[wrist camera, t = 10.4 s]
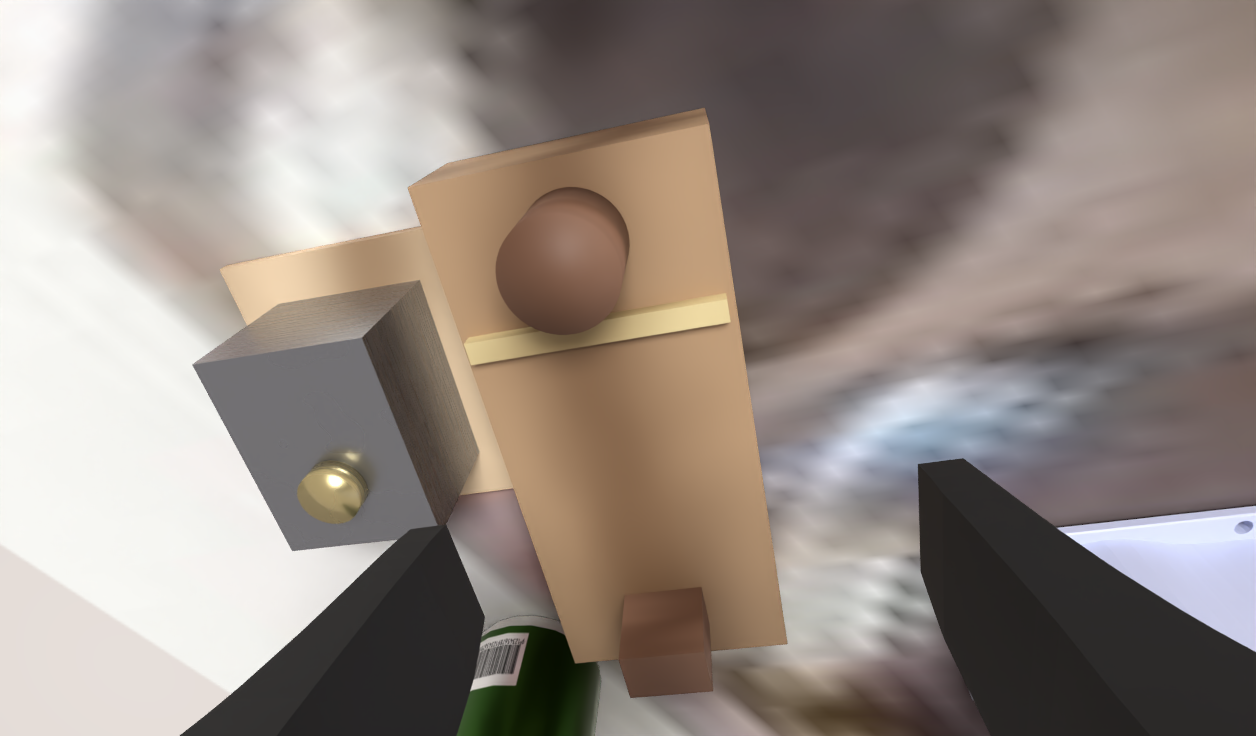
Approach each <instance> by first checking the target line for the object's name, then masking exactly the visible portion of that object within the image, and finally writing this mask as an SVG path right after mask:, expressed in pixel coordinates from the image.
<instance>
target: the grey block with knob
mask: <svg viewBox="0 0 1256 736" xmlns="http://www.w3.org/2000/svg"><path fill="white" fill-rule="evenodd" d="M193 367H194V369H195V371H196V372H197V374H198V376H199V378H200V380H201V382H202V384H203V385H204V387H205V389H206V391H207V393H208V395H209V397H210V399H211V400H212V402H213V404H214V406H215V408H216V410H217V412H218V413H219V415H220V417H221V419H222V421H223V423H224V425H225V426H226V428H227V430H228V432H229V434H230V436H231V438H232V440H233V441H234V443H235V445H236V447H237V449H238V451H239V453H240V454H241V456H242V458H243V460H244V462H245V464H246V466H247V468H248V469H249V471H250V473H251V475H252V477H253V479H254V481H255V482H256V484H257V486H258V488H259V490H260V492H261V494H262V495H263V497H264V499H265V501H266V503H267V505H268V507H269V509H270V510H271V512H272V514H273V516H274V518H275V520H276V522H277V523H278V525H279V527H280V529H281V531H282V533H283V535H284V536H285V538H286V540H287V542H288V544H289V546H290V548H291V550H292V551H297V550H306V549H315V548H324V547H333V546H342V545H351V544H360V543H370V542H379V541H388V540H397V539H399V538H401V537H402V536H403V535H404V534H405V533H407V532H408V531H409V530H410V529H415V528H422V527H430V526H438V525H446V523H447V521H448V519H449V517H450V515H451V512H452V510H453V508H454V506H455V504H456V502H457V500H458V497H459V495H460V493H461V491H462V489H463V487H464V484H465V482H466V480H467V478H468V476H469V474H470V471H471V469H472V467H473V465H474V463H475V461H476V459H477V456H478V454H479V449H478V446H477V443H476V440H475V437H474V434H473V432H472V429H471V426H470V423H469V420H468V417H467V414H466V411H465V409H464V406H463V403H462V400H461V397H460V394H459V391H458V388H457V386H456V383H455V380H454V377H453V374H452V371H451V368H450V365H449V363H448V360H447V357H446V354H445V351H444V348H443V345H442V342H441V340H440V337H439V334H438V331H437V328H436V325H435V322H434V319H433V316H432V314H431V311H430V308H429V305H428V302H427V299H426V296H425V293H424V291H423V288H422V285H421V282H420V280H416V281H410V282H404V283H398V284H393V285H387V286H381V287H375V288H369V289H363V290H357V291H351V292H346V293H340V294H334V295H328V296H322V297H316V298H310V299H304V300H298V301H293V302H287V303H281V304H278V305H276V306H275V307H273V308H272V309H270V310H269V311H268V312H266V313H265V314H263V315H262V316H261V317H259V318H258V319H256V320H255V321H253V322H252V323H251V324H249V325H248V326H246V327H245V328H244V329H242V330H241V331H239V332H238V333H236V334H235V335H234V336H232V337H231V338H229V339H228V340H227V341H225V342H224V343H222V344H221V345H219V346H218V347H217V348H215V349H214V350H212V351H211V352H210V353H208V354H207V355H205V356H204V357H202V358H201V359H200V360H198V361H197V362H195V363H194V364H193Z"/></svg>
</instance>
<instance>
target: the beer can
mask: <svg viewBox="0 0 1256 736" xmlns="http://www.w3.org/2000/svg"><path fill="white" fill-rule="evenodd" d="M600 688H601V676H600V670H599V665H598V663H597V661H596V662H585V663H575V661H574V659H573V656H572V653H571V650H570V647H569V644H568V641H567V639H566V636H565V633H564V630H563V627H562V624H561V622H559V621H557V620H555V619H550V618H545V617H540V616H515V617H511V618H508V619H504V620H500V621H499V622H497V623H496V624H494V625H493V626H491V627H489V628H488V629H487V630H486V631H485V632H484V633H483V634H482V638H481V644H480V650H479V655H478V660H477V665H476V670H475V675H474V680H473V684H472V687H471V690H470V694H469V697H468V700H467V704H466V707H465V710H464V713H463V717H462V720H461V723H460V726H459V729H458V733H457V736H595V730H596V722H597V713H598V705H599V697H600Z"/></svg>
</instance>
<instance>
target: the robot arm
mask: <svg viewBox="0 0 1256 736" xmlns="http://www.w3.org/2000/svg"><path fill="white" fill-rule="evenodd" d="M918 485H919V523H920V561H921V574H922V577H923V580H924V583H925V586H926V589H927V592H928V595H929V597H930V600H931V603H932V606H933V609H934V612H935V615H936V618H937V620H938V623H939V626H940V629H941V631H942V634H943V637H944V639H945V642H946V644H947V646H948V648H949V650H950V652H951V654H952V656H953V658H954V661H955V663H956V665H957V667H958V669H959V671H960V673H961V675H962V677H963V679H964V681H965V683H966V685H967V688H968V690H969V693H970V695H971V698H972V699H973V700H974V702H975V704H976V706H977V708H978V710H979V712H980V714H981V716H982V718H983V720H984V722H985V724H986V727H987V729H988V731H989V733H990V735H991V736H1256V506H1250V507H1241V508H1232V509H1223V510H1214V511H1205V512H1196V513H1186V514H1177V515H1168V516H1159V517H1150V518H1141V519H1132V520H1123V521H1114V522H1105V523H1096V524H1087V525H1078V526H1069V527H1060V528H1056V527H1055V526H1053V525H1052V524H1051V523H1049V522H1048V521H1047V520H1045V519H1044V518H1042V517H1041V516H1040V515H1038V514H1037V513H1036V512H1034V511H1033V510H1032V509H1030V508H1029V507H1027V506H1026V505H1025V504H1023V503H1022V502H1021V501H1019V500H1018V499H1017V498H1015V497H1014V496H1013V495H1011V494H1010V493H1009V492H1007V491H1006V490H1005V489H1003V488H1002V487H1001V486H999V485H998V484H997V483H995V482H994V481H993V480H991V479H990V478H989V477H987V476H986V475H985V474H983V473H982V472H981V471H979V470H978V469H977V468H975V467H974V466H973V465H971V464H970V463H969V462H967V461H966V460H965V459H963V458H962V459H955V460H947V461H939V462H931V463H923V464H918ZM1240 522H1241V523H1240ZM484 619H485V616H484V614H483V612H482V609H481V607H480V604H479V602H478V600H477V597H476V595H475V592H474V590H473V588H472V585H471V583H470V581H469V578H468V576H467V573H466V571H465V569H464V566H463V564H462V561H461V559H460V557H459V554H458V552H457V550H456V547H455V545H454V542H453V540H452V538H451V535H450V533H449V530H448V528H447V526H446V525H438V526H430V527H422V528H415V529H410V530H409V531H408V532H407V533H405V534H404V535H403V536H402V537H401V538H399V539H398V540H397V541H396V542H395V543H394V544H393V545H392V546H391V547H390V548H388V549H387V550H386V551H385V552H384V553H383V554H382V555H381V556H380V557H379V558H378V559H377V560H376V561H375V562H374V563H373V564H372V565H371V566H370V567H368V568H367V569H366V570H365V571H364V572H363V573H362V574H361V575H360V576H359V577H358V578H357V579H356V580H355V581H354V582H353V583H352V584H351V585H350V586H349V587H348V588H347V589H346V590H345V591H344V592H343V593H342V594H340V595H339V596H338V597H337V598H336V599H335V600H334V601H333V602H332V603H331V604H330V605H329V606H328V607H327V608H326V609H325V610H324V611H323V612H322V613H321V614H320V615H319V616H317V617H316V618H315V619H314V620H313V621H312V622H311V623H310V624H309V625H308V626H307V627H306V628H305V629H304V630H303V631H302V632H301V633H299V634H298V635H297V636H296V637H295V638H294V639H293V640H292V641H291V642H289V643H288V644H287V645H286V646H285V647H284V648H283V649H282V650H280V651H279V652H278V653H277V654H276V655H275V656H274V657H273V658H272V659H270V660H269V661H268V662H267V663H266V664H265V665H264V666H263V667H262V668H260V669H259V670H258V671H257V672H256V673H255V674H254V675H253V676H251V677H250V678H249V679H248V680H247V681H246V682H245V683H244V684H243V685H241V686H240V687H239V688H238V689H237V690H236V691H234V692H233V693H232V694H231V695H230V696H228V697H227V698H226V699H225V700H224V701H222V702H221V703H220V704H219V705H218V706H216V707H215V708H214V709H213V710H211V711H210V712H209V713H208V714H207V715H205V716H204V717H203V718H202V719H200V720H199V721H198V722H197V723H195V724H194V725H193V726H191V727H190V728H189V729H188V730H186V731H185V732H184V733H183V734H181V735H180V736H457V733H458V729H459V726H460V723H461V720H462V717H463V713H464V710H465V707H466V704H467V700H468V697H469V694H470V690H471V687H472V684H473V680H474V675H475V670H476V665H477V660H478V655H479V650H480V644H481V638H482V631H483V625H484Z"/></svg>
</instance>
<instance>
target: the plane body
mask: <svg viewBox="0 0 1256 736" xmlns="http://www.w3.org/2000/svg"><path fill="white" fill-rule="evenodd" d="M408 190H409V193H410V196H411V199H412V202H413V205H414V207H415V210H416V213H417V216H418V219H419V222H420V224H421V227H422V230H423V233H424V236H425V239H426V241H427V244H428V247H429V250H430V253H431V256H432V258H433V261H434V264H435V267H436V270H437V273H438V276H439V278H440V281H441V284H442V287H443V290H444V293H445V295H446V298H447V301H448V304H449V307H450V310H451V312H452V315H453V318H454V321H455V324H456V327H457V329H458V332H459V335H460V338H461V341H462V344H463V346H464V349H465V352H466V355H467V358H468V361H469V363H470V366H471V369H472V372H473V375H474V378H475V380H476V383H477V386H478V389H479V392H480V395H481V397H482V400H483V403H484V406H485V409H486V412H487V415H488V417H489V420H490V423H491V426H492V429H493V432H494V434H495V437H496V440H497V443H498V446H499V449H500V451H501V454H502V457H503V460H504V463H505V466H506V468H507V471H508V474H509V477H510V480H511V483H512V485H513V488H514V491H515V494H516V497H517V500H518V502H519V505H520V508H521V511H522V514H523V517H524V519H525V522H526V525H527V528H528V531H529V534H530V537H531V539H532V542H533V545H534V548H535V551H536V554H537V556H538V559H539V562H540V565H541V568H542V571H543V573H544V576H545V579H546V582H547V585H548V588H549V590H550V593H551V596H552V599H553V602H554V605H555V607H556V610H557V613H558V616H559V619H560V622H561V624H562V627H563V630H564V633H565V636H566V639H567V641H568V644H569V647H570V650H571V653H572V656H573V659H574V661H575V663H585V662H596V661H607V660H618V659H619V663H620V666H621V669H622V672H623V676H624V679H625V682H626V685H627V689H628V692H629V695H630V698H636V697H648V696H661V695H673V694H685V693H697V692H710V691H713V681H712V661H711V651H717V650H728V649H739V648H750V647H761V646H772V645H783V644H787V637H786V631H785V624H784V617H783V611H782V604H781V598H780V591H779V584H778V578H777V571H776V564H775V558H774V551H773V545H772V538H771V531H770V525H769V518H768V511H767V505H766V498H765V491H764V485H763V478H762V472H761V465H760V458H759V452H758V445H757V438H756V432H755V425H754V419H753V412H752V405H751V399H750V392H749V385H748V379H747V372H746V365H745V359H744V352H743V346H742V339H741V332H740V326H739V319H738V312H737V306H736V299H735V293H734V286H733V279H732V273H731V266H730V259H729V253H728V246H727V240H726V233H725V226H724V220H723V213H722V206H721V200H720V193H719V186H718V180H717V173H716V167H715V160H714V153H713V147H712V140H711V133H710V127H709V122H708V118H707V115H706V111H705V108H701V109H696V110H692V111H687V112H683V113H678V114H673V115H669V116H664V117H659V118H655V119H650V120H646V121H641V122H636V123H632V124H627V125H622V126H618V127H613V128H609V129H604V130H599V131H595V132H590V133H585V134H581V135H576V136H571V137H567V138H562V139H558V140H553V141H548V142H544V143H539V144H534V145H530V146H525V147H521V148H516V149H511V150H507V151H502V152H497V153H493V154H488V155H484V156H479V157H474V158H470V159H465V160H460V161H456V162H451V163H447V164H445V165H444V166H442V167H440V168H439V169H437V170H436V171H434V172H432V173H431V174H429V175H427V176H426V177H424V178H422V179H421V180H419V181H418V182H416V183H414V184H413V185H411V186H409V187H408Z"/></svg>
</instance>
